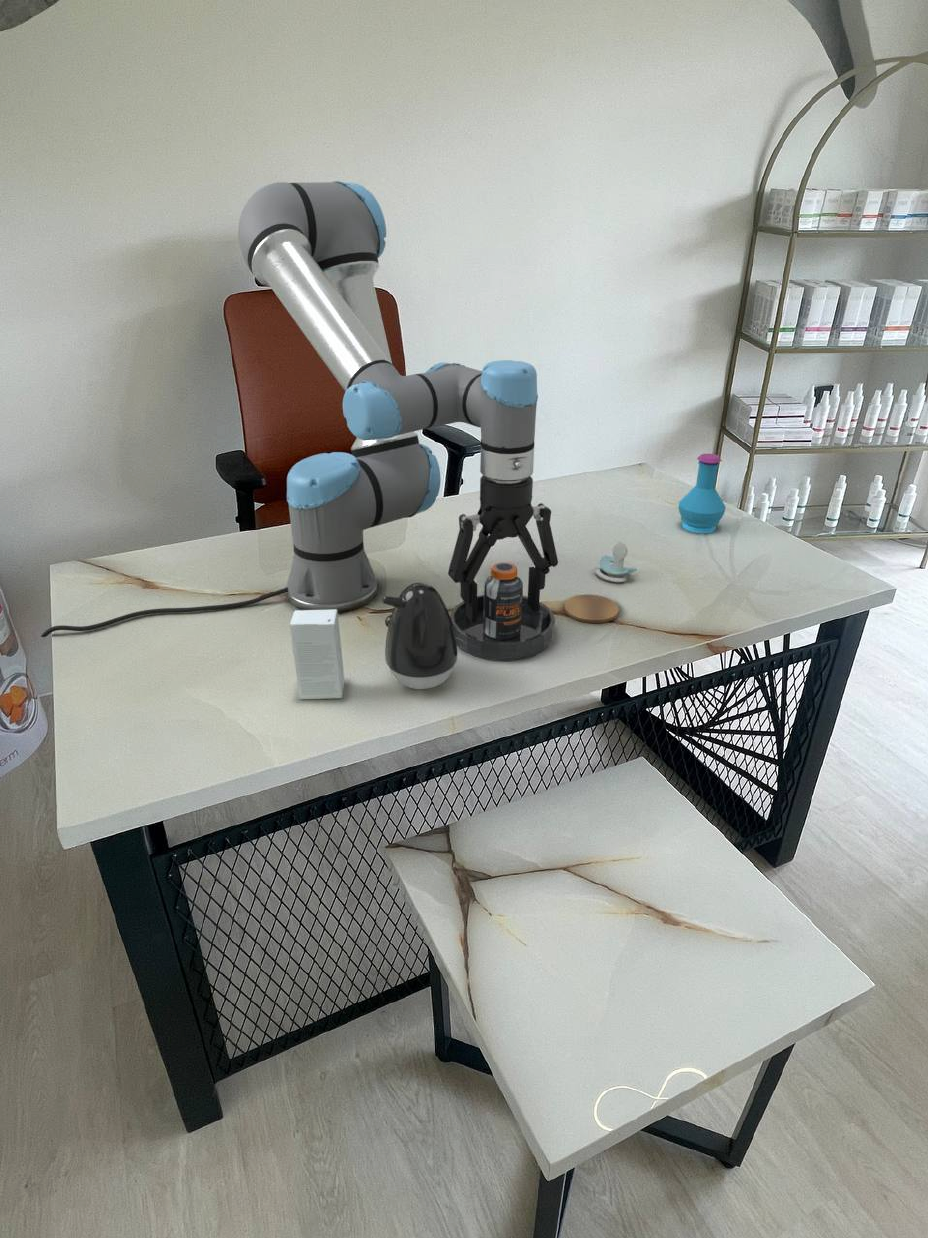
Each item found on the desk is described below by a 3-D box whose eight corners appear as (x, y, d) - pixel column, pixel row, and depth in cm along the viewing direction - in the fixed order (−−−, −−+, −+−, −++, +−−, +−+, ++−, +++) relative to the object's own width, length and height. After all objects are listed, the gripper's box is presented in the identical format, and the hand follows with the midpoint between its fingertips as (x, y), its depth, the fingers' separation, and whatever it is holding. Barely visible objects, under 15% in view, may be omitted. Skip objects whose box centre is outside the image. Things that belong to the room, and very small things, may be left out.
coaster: (579, 627, 129) (580, 624, 128) (554, 602, 136) (555, 599, 136) (628, 617, 131) (629, 614, 131) (601, 594, 139) (601, 590, 139)
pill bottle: (495, 644, 123) (497, 578, 118) (476, 627, 128) (477, 563, 122) (528, 635, 126) (531, 569, 120) (508, 618, 130) (510, 555, 125)
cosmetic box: (345, 682, 115) (338, 608, 109) (342, 699, 111) (335, 624, 105) (302, 683, 114) (293, 609, 109) (297, 700, 111) (288, 624, 105)
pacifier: (617, 588, 141) (640, 578, 144) (620, 556, 138) (643, 546, 141) (587, 574, 146) (609, 564, 149) (589, 542, 143) (612, 533, 146)
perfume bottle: (667, 521, 168) (676, 451, 160) (706, 516, 170) (717, 447, 163) (691, 538, 160) (702, 465, 153) (731, 532, 162) (743, 461, 155)
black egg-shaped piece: (375, 669, 118) (369, 576, 110) (441, 654, 121) (439, 563, 114) (399, 706, 109) (394, 608, 102) (468, 689, 113) (469, 593, 106)
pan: (472, 669, 118) (472, 651, 116) (436, 618, 131) (436, 602, 130) (571, 649, 123) (572, 632, 121) (527, 602, 136) (528, 586, 135)
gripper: (441, 493, 108) (442, 637, 119) (589, 474, 115) (577, 612, 125) (423, 476, 114) (426, 614, 125) (565, 459, 121) (556, 591, 132)
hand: (502, 613), depth 125 cm, fingers open, 10 cm apart
